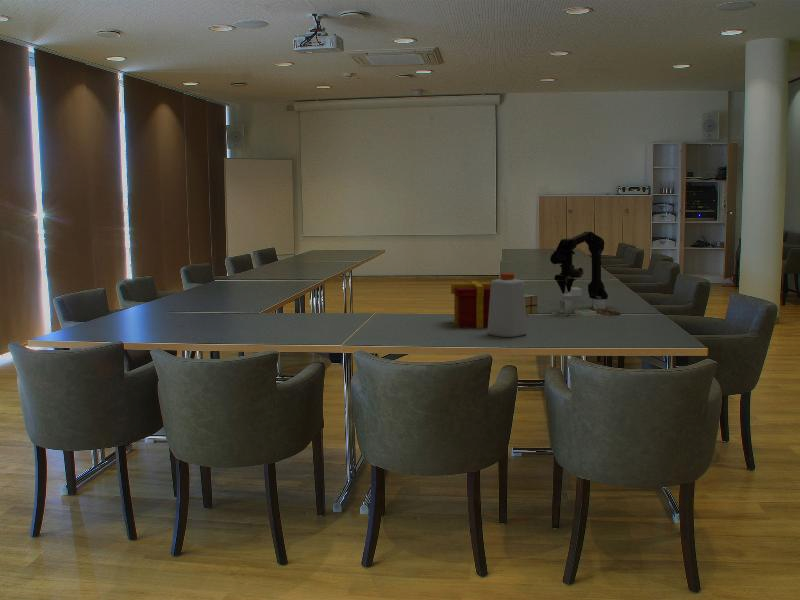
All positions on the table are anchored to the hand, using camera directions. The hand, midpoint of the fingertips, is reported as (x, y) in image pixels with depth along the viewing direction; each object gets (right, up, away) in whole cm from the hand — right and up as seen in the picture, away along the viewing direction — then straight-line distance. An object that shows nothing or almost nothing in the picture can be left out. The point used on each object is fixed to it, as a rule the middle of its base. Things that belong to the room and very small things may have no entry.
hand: (566, 292), depth 418 cm
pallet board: (+20, -12, -1) cm, 23 cm away
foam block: (+13, -6, +54) cm, 56 cm away
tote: (0, -12, +2) cm, 12 cm away
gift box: (-50, -16, -25) cm, 58 cm away
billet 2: (+18, -10, +3) cm, 21 cm away
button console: (+9, -13, -4) cm, 16 cm away
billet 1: (0, -11, +2) cm, 11 cm away
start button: (+9, -12, -5) cm, 16 cm away
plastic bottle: (-39, -20, -54) cm, 70 cm away
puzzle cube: (-21, -12, +8) cm, 25 cm away
